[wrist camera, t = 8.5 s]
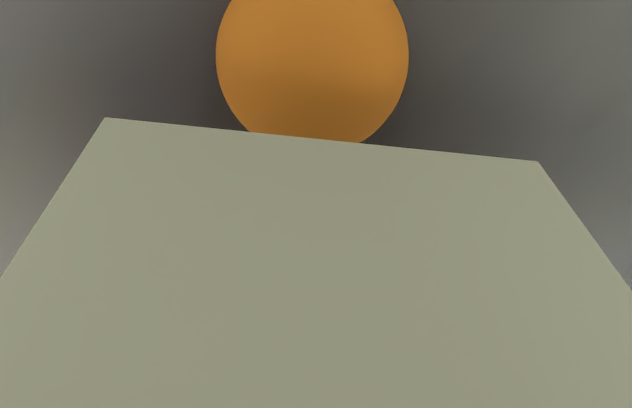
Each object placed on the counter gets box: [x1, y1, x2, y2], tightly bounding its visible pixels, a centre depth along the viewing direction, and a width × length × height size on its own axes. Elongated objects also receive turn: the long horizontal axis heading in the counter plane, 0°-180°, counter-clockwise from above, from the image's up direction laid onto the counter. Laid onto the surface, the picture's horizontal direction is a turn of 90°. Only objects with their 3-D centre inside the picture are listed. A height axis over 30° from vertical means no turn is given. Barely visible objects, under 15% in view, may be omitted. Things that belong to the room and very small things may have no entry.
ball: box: [216, 0, 409, 143], centre depth 14 cm, size 5×5×5 cm
